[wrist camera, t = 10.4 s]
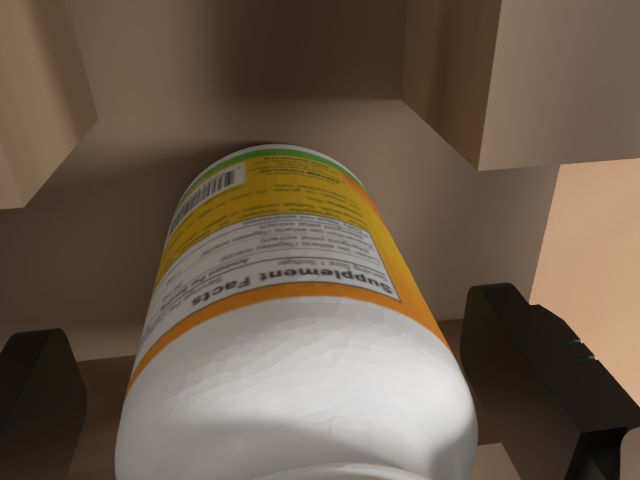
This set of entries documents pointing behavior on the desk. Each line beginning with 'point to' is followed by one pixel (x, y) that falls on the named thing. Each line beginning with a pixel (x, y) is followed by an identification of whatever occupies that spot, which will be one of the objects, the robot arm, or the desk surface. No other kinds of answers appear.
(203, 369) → the supplement bottle
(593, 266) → the desk surface
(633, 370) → the desk surface
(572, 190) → the desk surface
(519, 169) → the cross slot block
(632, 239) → the desk surface
